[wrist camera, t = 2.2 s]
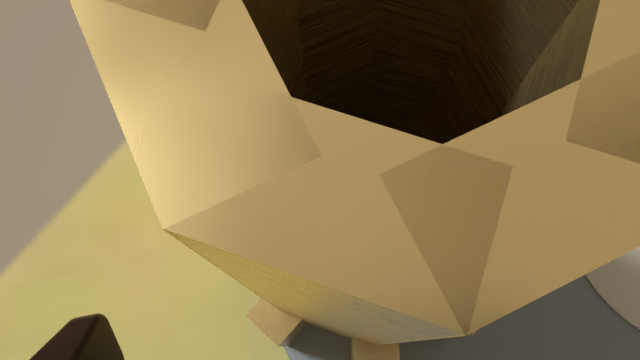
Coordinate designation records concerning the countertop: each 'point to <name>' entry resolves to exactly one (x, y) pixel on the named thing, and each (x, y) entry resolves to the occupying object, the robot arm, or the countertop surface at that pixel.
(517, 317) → the gear board
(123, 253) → the countertop surface
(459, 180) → the gear
